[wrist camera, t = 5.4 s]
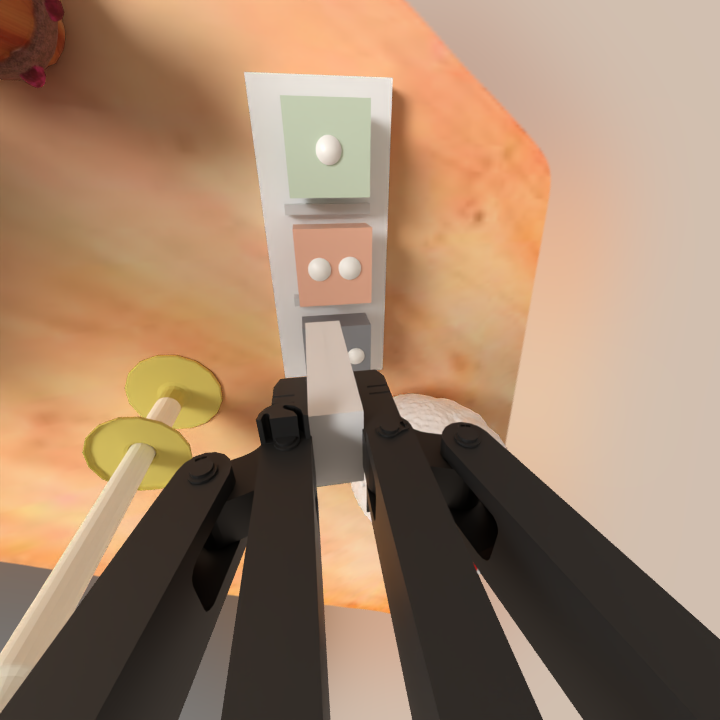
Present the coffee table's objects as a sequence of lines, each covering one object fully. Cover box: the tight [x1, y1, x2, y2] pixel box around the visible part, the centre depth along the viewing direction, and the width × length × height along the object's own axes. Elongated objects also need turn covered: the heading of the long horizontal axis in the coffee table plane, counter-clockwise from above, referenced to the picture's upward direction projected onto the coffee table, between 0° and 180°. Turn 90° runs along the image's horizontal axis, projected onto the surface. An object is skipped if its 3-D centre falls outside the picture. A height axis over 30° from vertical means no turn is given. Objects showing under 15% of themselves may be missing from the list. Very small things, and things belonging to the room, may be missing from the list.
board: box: [244, 72, 393, 378], centre depth 31 cm, size 11×26×3 cm, turn 0°
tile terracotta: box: [292, 223, 372, 307], centre depth 27 cm, size 6×6×3 cm
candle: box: [0, 355, 223, 713], centre depth 26 cm, size 10×10×27 cm
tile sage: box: [280, 95, 371, 198], centre depth 24 cm, size 6×6×3 cm
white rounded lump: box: [351, 393, 507, 522], centre depth 37 cm, size 20×18×16 cm
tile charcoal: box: [302, 313, 371, 374], centre depth 31 cm, size 6×6×3 cm
